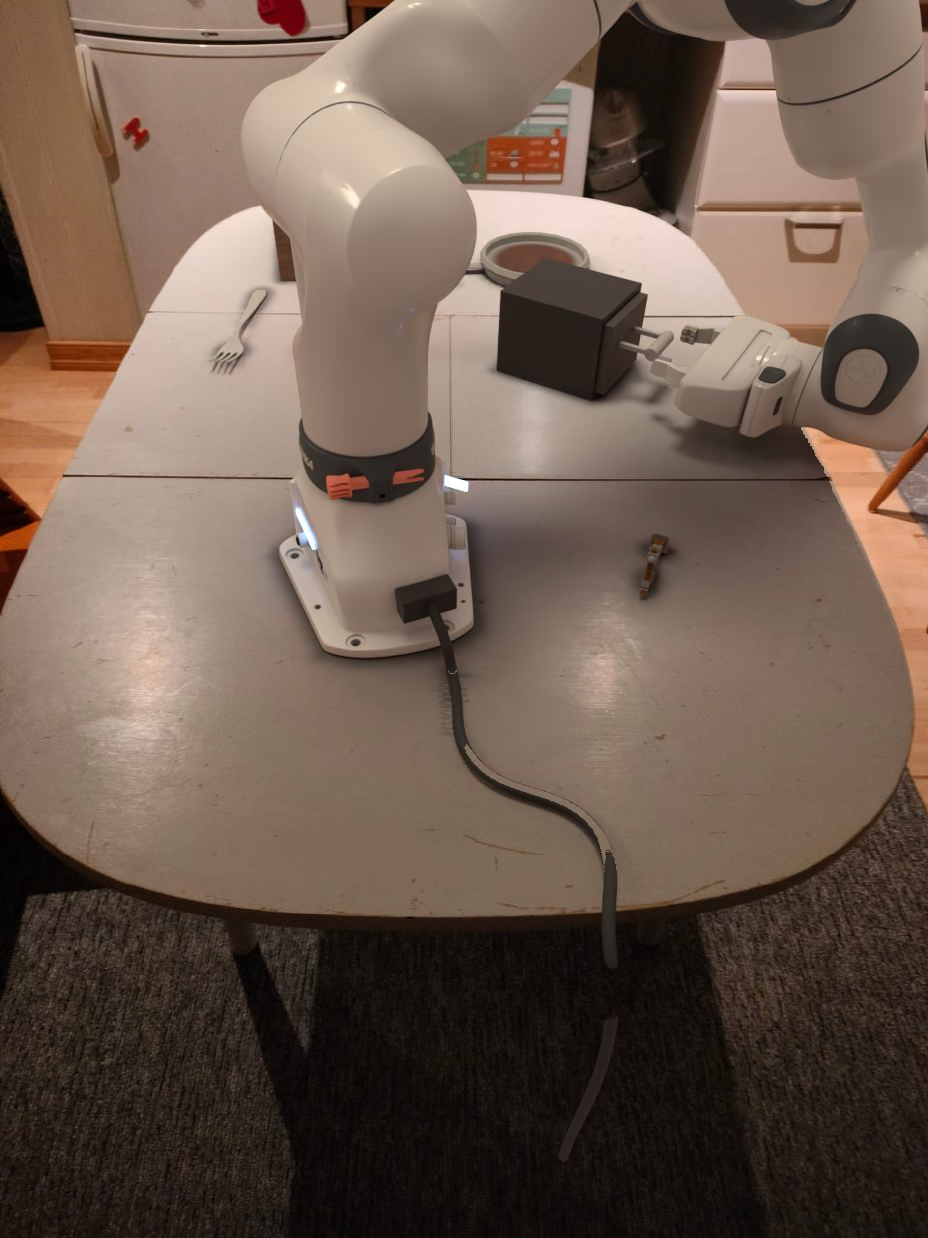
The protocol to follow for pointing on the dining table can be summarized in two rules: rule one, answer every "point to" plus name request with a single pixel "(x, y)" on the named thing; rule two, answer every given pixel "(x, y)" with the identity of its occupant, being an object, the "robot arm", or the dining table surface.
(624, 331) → the dark grey drawer
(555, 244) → the frying pan
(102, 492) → the dining table surface
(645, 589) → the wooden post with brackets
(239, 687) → the dining table surface
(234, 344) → the fork
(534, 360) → the drawer box
